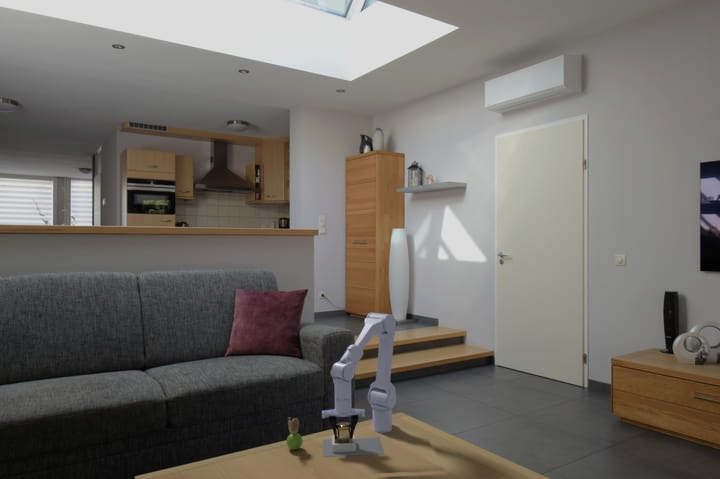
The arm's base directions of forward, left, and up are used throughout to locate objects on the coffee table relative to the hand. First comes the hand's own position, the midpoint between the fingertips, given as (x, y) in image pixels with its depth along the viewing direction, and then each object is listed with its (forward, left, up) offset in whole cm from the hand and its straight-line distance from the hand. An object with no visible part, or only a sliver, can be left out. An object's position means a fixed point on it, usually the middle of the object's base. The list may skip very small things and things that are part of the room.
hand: (343, 437), depth 169 cm
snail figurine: (-2, -17, -4) cm, 18 cm away
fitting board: (0, +3, -4) cm, 5 cm away
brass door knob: (0, 0, -2) cm, 2 cm away
